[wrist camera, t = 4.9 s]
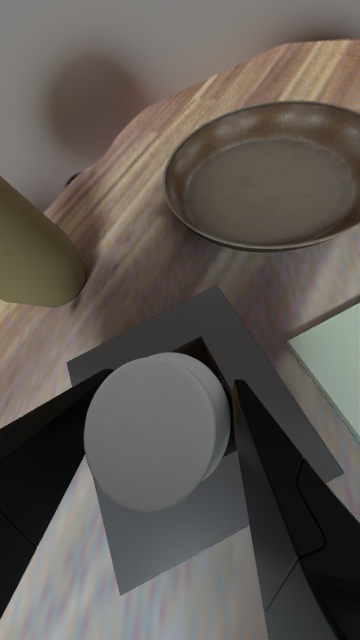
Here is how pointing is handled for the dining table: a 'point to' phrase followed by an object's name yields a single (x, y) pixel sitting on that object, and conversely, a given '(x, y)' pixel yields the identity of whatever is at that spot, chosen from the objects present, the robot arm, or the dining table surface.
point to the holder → (226, 481)
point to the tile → (334, 362)
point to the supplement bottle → (156, 431)
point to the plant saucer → (269, 176)
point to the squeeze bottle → (35, 255)
